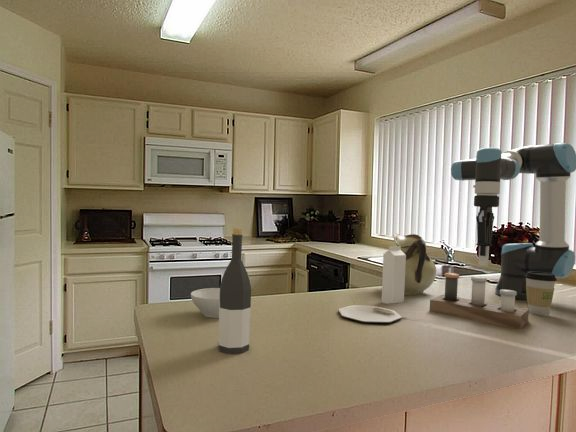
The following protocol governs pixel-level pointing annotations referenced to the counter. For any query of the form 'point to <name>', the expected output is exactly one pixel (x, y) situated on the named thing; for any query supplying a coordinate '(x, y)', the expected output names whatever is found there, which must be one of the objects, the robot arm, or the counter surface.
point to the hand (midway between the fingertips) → (483, 265)
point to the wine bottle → (235, 303)
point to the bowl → (207, 301)
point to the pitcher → (416, 264)
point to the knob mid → (478, 290)
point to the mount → (480, 312)
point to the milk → (393, 275)
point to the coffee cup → (539, 291)
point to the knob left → (507, 300)
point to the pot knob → (451, 286)
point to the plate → (368, 314)
